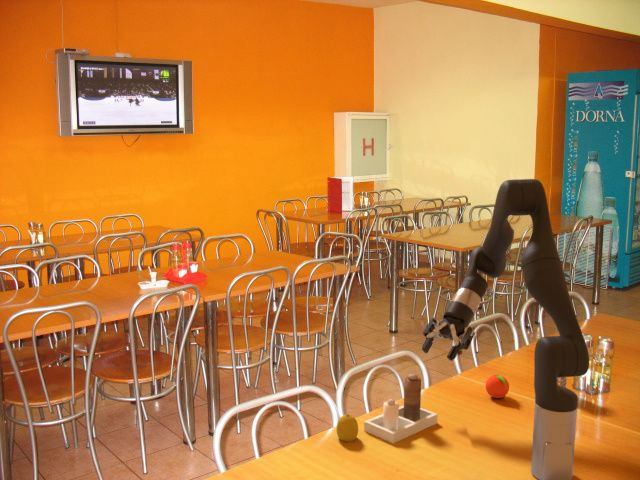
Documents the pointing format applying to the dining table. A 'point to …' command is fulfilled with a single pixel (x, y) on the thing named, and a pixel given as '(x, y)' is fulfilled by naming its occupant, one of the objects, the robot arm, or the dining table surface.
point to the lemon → (347, 428)
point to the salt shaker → (390, 415)
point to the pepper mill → (412, 397)
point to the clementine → (497, 386)
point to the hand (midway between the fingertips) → (436, 355)
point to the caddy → (400, 425)
